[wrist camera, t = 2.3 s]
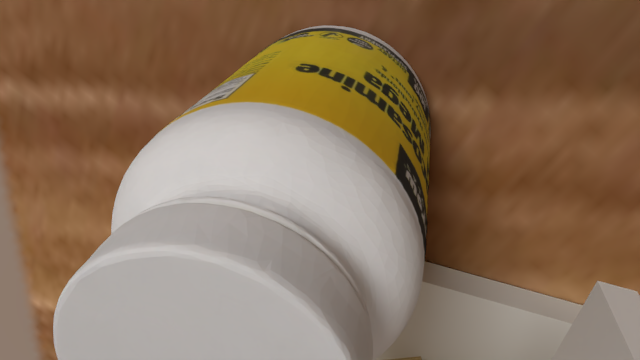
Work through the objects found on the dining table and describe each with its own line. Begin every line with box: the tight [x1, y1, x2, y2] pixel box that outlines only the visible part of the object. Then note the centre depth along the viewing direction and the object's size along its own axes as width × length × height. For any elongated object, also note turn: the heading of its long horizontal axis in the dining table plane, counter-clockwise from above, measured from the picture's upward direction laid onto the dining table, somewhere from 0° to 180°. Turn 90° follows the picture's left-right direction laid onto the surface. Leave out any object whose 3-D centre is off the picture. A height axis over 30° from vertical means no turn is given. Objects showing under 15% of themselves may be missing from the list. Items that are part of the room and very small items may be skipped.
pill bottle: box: [53, 26, 431, 360], centre depth 12 cm, size 6×6×11 cm
